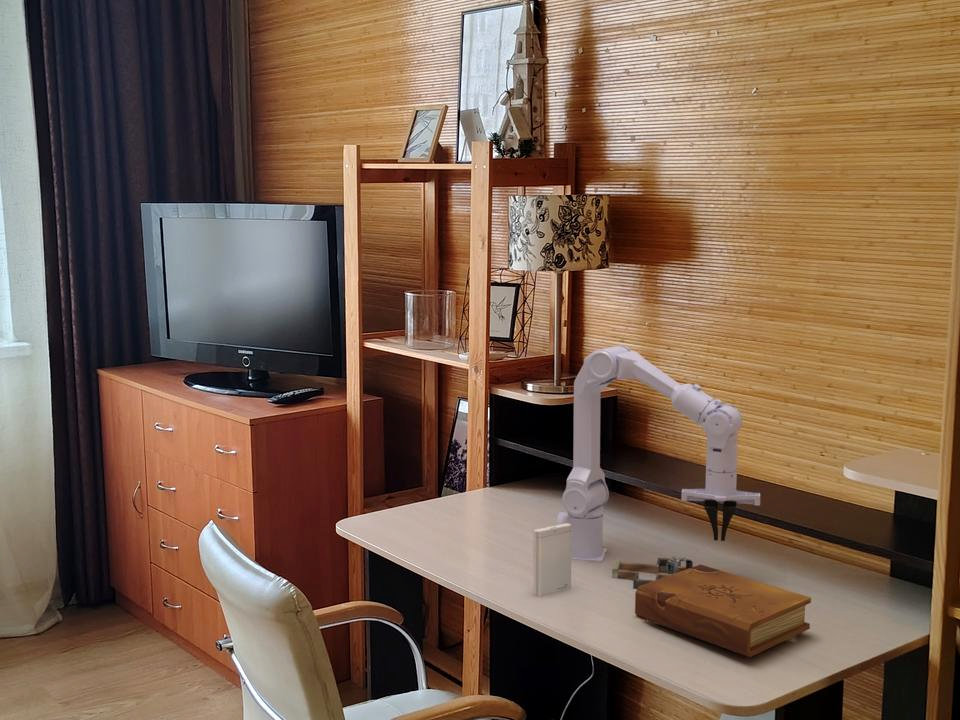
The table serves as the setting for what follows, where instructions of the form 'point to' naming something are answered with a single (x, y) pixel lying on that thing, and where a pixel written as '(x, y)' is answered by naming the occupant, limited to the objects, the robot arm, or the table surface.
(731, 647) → the diary
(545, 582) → the hard drive
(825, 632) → the table surface
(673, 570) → the wristwatch
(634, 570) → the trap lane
